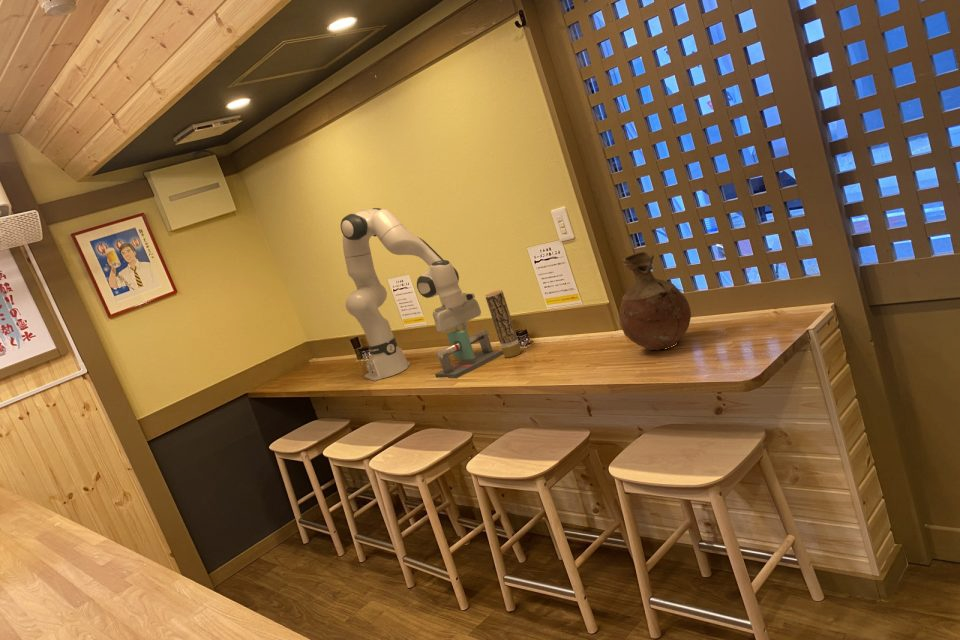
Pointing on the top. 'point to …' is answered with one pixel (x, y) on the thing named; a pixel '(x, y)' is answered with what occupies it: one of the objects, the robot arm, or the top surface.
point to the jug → (652, 307)
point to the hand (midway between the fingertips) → (463, 335)
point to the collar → (465, 343)
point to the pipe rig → (445, 353)
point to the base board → (470, 364)
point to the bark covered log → (503, 323)
